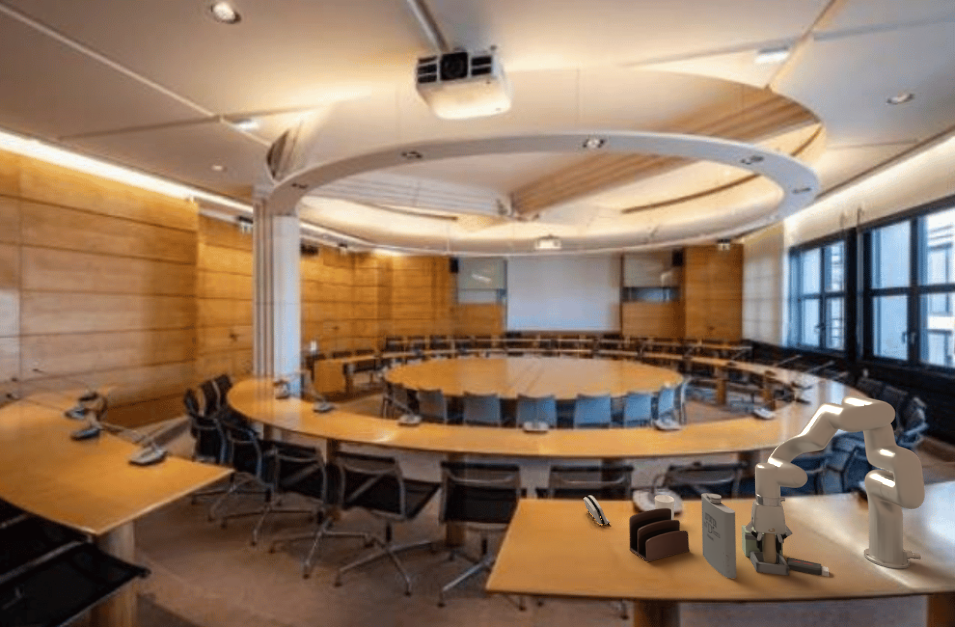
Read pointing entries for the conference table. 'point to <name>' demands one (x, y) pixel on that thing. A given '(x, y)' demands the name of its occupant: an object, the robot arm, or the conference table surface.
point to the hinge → (595, 509)
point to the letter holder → (656, 535)
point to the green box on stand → (756, 555)
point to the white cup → (665, 503)
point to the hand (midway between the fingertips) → (768, 550)
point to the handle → (769, 547)
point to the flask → (718, 535)
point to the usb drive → (807, 567)
